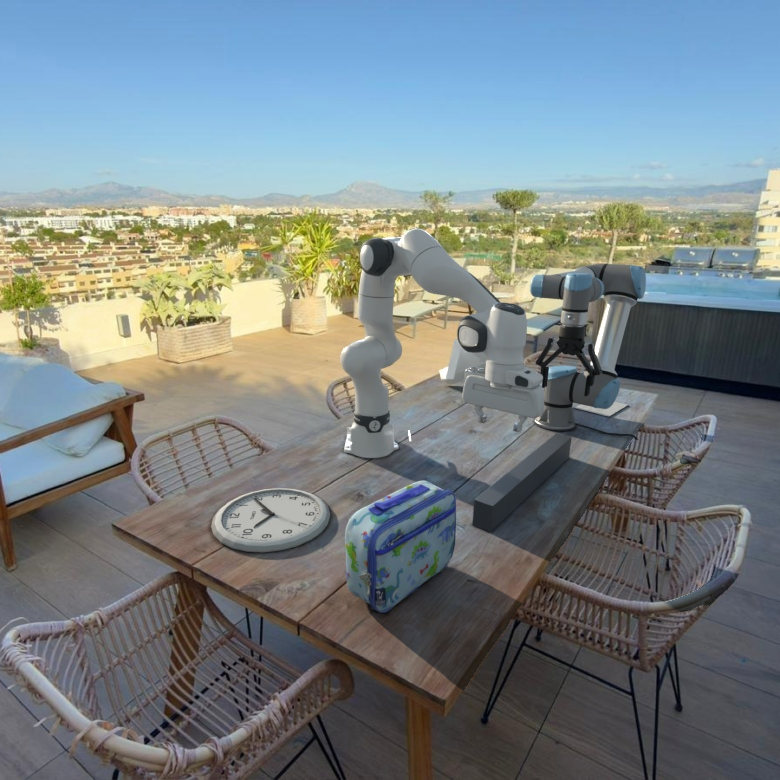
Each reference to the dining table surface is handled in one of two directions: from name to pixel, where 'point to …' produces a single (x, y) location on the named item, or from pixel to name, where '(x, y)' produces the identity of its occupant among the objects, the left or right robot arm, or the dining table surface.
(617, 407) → the invitation card
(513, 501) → the post
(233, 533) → the wall clock
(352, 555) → the lunch box
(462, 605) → the dining table surface
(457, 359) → the white plastic object
